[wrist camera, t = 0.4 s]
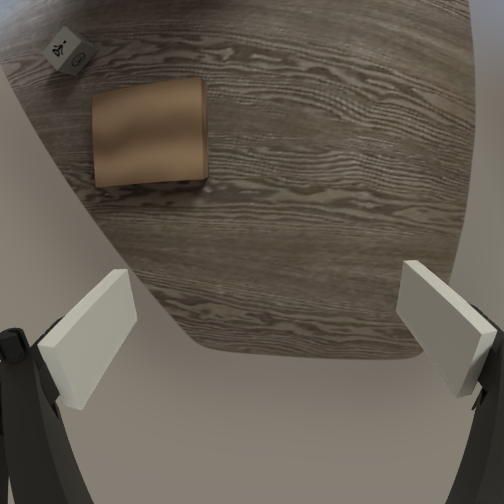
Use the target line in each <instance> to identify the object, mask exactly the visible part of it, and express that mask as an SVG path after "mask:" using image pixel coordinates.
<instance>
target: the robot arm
mask: <svg viewBox="0 0 504 504" xmlns="http://www.w3.org/2000/svg"><path fill="white" fill-rule="evenodd" d="M396 313H397V314H398V315H399V317H400V318H401V319H402V321H403V322H404V323H405V325H406V326H407V328H408V329H409V330H410V332H411V333H412V334H413V336H414V337H415V339H416V340H417V341H418V343H419V344H420V346H421V347H422V348H423V350H424V351H425V353H426V354H427V355H428V357H429V358H430V360H431V361H432V363H433V364H434V366H435V367H436V369H437V370H438V372H439V373H440V375H441V376H442V378H443V379H444V381H445V382H446V383H447V385H448V386H449V388H450V390H451V391H452V393H453V394H454V396H455V397H456V398H459V397H463V396H466V395H470V394H472V392H473V390H474V388H475V386H476V384H477V381H478V382H479V383H480V384H481V386H482V389H481V391H480V393H479V395H478V397H477V399H476V401H475V404H474V405H473V407H472V410H474V409H475V407H476V410H475V414H474V418H473V423H472V426H471V430H470V434H469V438H468V441H467V445H466V448H465V452H464V455H463V458H462V461H461V464H460V467H459V470H458V473H457V475H456V478H455V481H454V484H453V486H452V489H451V491H450V494H449V496H448V499H447V501H446V503H445V504H504V332H503V331H502V330H501V329H500V328H499V327H498V326H497V325H495V324H494V323H493V322H492V321H491V320H489V318H488V317H487V316H485V315H483V313H482V312H481V311H480V310H479V309H478V308H477V307H475V306H473V305H471V304H469V303H468V302H466V301H465V300H463V299H462V298H461V297H460V296H459V295H458V294H457V293H455V292H454V291H453V290H452V289H451V288H450V287H449V286H447V285H446V284H445V283H444V282H443V281H442V280H440V279H439V278H438V277H437V276H436V275H434V274H433V273H432V272H431V271H429V270H428V269H427V268H426V267H425V266H423V265H422V264H421V263H420V262H418V261H417V260H413V261H404V262H403V269H402V277H401V283H400V290H399V296H398V302H397V308H396ZM136 321H137V314H136V310H135V305H134V300H133V295H132V290H131V285H130V280H129V275H128V269H114V270H112V271H111V272H110V273H109V274H108V275H107V276H106V277H105V278H104V279H103V280H102V281H101V282H100V283H98V285H96V286H95V287H94V288H93V289H92V290H91V291H90V292H89V293H88V294H87V295H86V296H85V297H84V298H83V299H82V300H81V301H80V302H79V303H78V304H77V305H76V306H75V307H74V308H73V309H72V310H71V311H70V312H69V313H68V314H67V315H65V316H63V317H62V318H60V319H58V320H57V321H56V322H55V323H54V324H53V325H52V326H51V327H50V328H49V329H48V330H47V331H46V332H45V334H43V335H42V336H41V337H40V338H39V339H38V340H37V341H36V342H35V343H34V344H33V345H32V346H31V347H30V346H29V344H28V342H27V339H26V336H25V334H24V331H23V330H22V329H20V328H10V329H7V330H4V331H2V332H1V333H0V360H1V362H0V504H8V480H9V478H10V482H11V488H12V493H13V498H14V502H15V504H94V503H93V501H92V499H91V496H90V494H89V492H88V490H87V487H86V485H85V483H84V480H83V478H82V475H81V473H80V470H79V468H78V465H77V463H76V460H75V457H74V455H73V452H72V449H71V446H70V443H69V440H68V437H67V434H66V431H65V428H64V424H63V421H62V418H61V414H60V411H59V407H58V406H57V404H56V402H55V401H56V399H57V397H58V396H59V395H60V396H61V398H62V400H63V402H64V404H65V406H67V407H71V408H75V409H80V410H82V409H83V408H84V406H85V404H86V402H87V401H88V399H89V397H90V396H91V394H92V392H93V391H94V389H95V387H96V386H97V384H98V382H99V381H100V379H101V377H102V376H103V374H104V372H105V371H106V369H107V367H108V366H109V364H110V362H111V361H112V359H113V357H114V356H115V354H116V353H117V351H118V350H119V348H120V346H121V345H122V343H123V341H124V340H125V338H126V337H127V335H128V334H129V332H130V331H131V329H132V327H133V326H134V324H135V323H136Z"/></svg>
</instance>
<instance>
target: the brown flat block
mask: <svg viewBox="0 0 504 504" xmlns="http://www.w3.org/2000/svg"><path fill="white" fill-rule="evenodd" d="M92 131H93V156H94V171H95V184H96V188H99V187H108V186H118V185H128V184H140V183H152V182H165V181H180V180H198V179H205V178H207V177H209V159H208V128H207V84H206V83H205V82H204V80H203V79H202V78H201V77H198V78H188V79H179V80H171V81H164V82H157V83H150V84H144V85H138V86H133V87H127V88H122V89H117V90H112V91H108V92H103V93H99V94H94V95H92Z"/></svg>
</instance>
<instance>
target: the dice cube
mask: <svg viewBox="0 0 504 504" xmlns="http://www.w3.org/2000/svg"><path fill="white" fill-rule="evenodd" d="M97 51H98V49H97V48H96V47H95V46H94V45H92V44H91V43H90V42H89V41H88V40H87V39H86V38H85V37H84V36H82V35H81V34H80V33H78V32H76V31H74V30H72V29H70V28H68V27H67V26H65V25H64V26H63V27H62V29H61V30H60V31H59V32H58V33H57V35H56V36H55V37H54V38H53V39H52V41H51V42H50V43H49V44H48V46H47V47H46V48H45V50H44V51H43V52H42V53H41V54H42V55H43V56H44V57H45V58H46V59H47V60H48V61H49V62H50V64H51V65H52V66H53V67H54V68H55V69H56V70H57V71H60V72H63V73H66V74H69V75H72V76H77V74H78V73H79V72H80V71H81V70H82V68H83V67H84V66H85V65H86V64H87V62H88V61H89V60H90V59H91V58H92V57H93V56H94V54H95V53H96V52H97Z"/></svg>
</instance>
